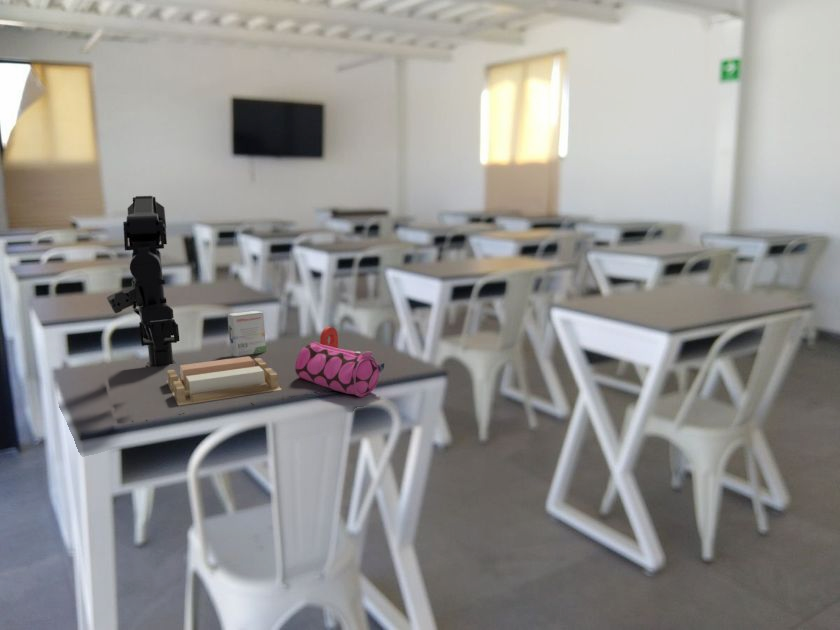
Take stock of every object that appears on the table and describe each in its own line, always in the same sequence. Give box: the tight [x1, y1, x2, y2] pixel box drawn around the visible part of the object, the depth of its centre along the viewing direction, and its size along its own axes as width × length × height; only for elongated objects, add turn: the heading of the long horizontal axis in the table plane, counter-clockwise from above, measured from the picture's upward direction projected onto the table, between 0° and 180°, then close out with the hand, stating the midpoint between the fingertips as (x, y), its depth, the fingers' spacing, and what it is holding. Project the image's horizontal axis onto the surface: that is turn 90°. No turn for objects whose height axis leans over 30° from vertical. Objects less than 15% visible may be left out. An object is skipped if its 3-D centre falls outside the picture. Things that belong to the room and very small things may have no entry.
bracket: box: [319, 326, 339, 348], centre depth 185 cm, size 12×4×8 cm, turn 154°
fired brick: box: [179, 355, 255, 387], centre depth 164 cm, size 4×16×4 cm, turn 116°
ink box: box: [227, 310, 267, 358], centre depth 187 cm, size 9×5×12 cm, turn 123°
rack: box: [165, 357, 283, 407], centre depth 159 cm, size 20×22×4 cm
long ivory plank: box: [186, 366, 265, 399], centre depth 155 cm, size 4×16×4 cm, turn 116°
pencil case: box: [294, 341, 385, 398], centre depth 159 cm, size 21×10×10 cm, turn 51°
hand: (155, 345), depth 153 cm, fingers open, 9 cm apart
